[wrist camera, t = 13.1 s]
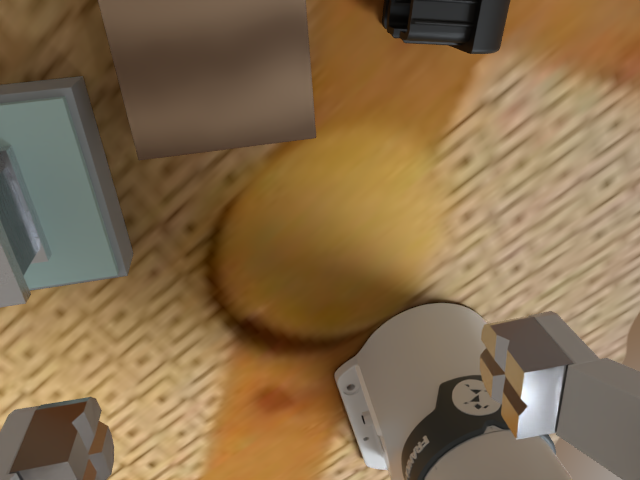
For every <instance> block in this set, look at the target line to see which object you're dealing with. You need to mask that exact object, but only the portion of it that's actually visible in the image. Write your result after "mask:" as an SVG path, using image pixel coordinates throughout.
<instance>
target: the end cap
mask: <svg viewBox="0 0 640 480" xmlns="http://www.w3.org/2000/svg"><path fill="white" fill-rule="evenodd" d="M509 4H510V0H384V8H383V17H382V24H383V26H384V28H385V29H387V32H388V33H390V34H391V35H392V36H393V37H394V38H401V39H402V40H403V42H404V43H414V44H436V45H449V46H452V47H454V48H457V49H459V50H462V51H464V52H467V53H469V54H488V53H494V52H497V51H498V50H499V49H500V45H501V41H502V36H503V31H504V27H505V22H506V18H507V13H508V8H509Z"/></svg>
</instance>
